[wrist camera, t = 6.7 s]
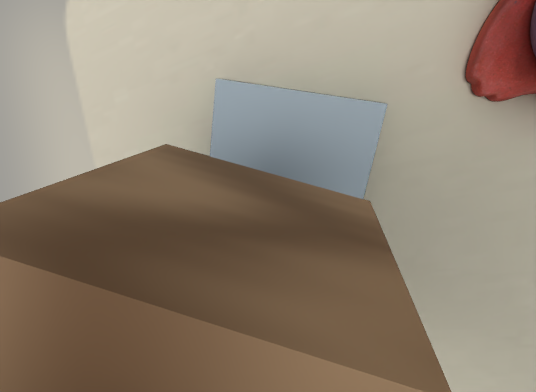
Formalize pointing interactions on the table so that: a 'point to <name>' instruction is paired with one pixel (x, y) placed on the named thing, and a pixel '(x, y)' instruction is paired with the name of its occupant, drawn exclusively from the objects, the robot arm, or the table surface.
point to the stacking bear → (505, 52)
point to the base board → (297, 134)
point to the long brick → (203, 285)
